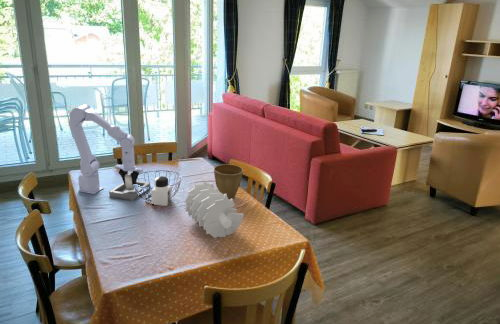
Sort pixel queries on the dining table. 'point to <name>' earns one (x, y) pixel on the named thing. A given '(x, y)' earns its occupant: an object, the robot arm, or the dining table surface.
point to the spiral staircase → (212, 210)
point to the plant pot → (228, 179)
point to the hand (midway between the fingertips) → (130, 183)
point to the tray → (127, 191)
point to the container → (161, 191)
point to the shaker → (128, 182)
